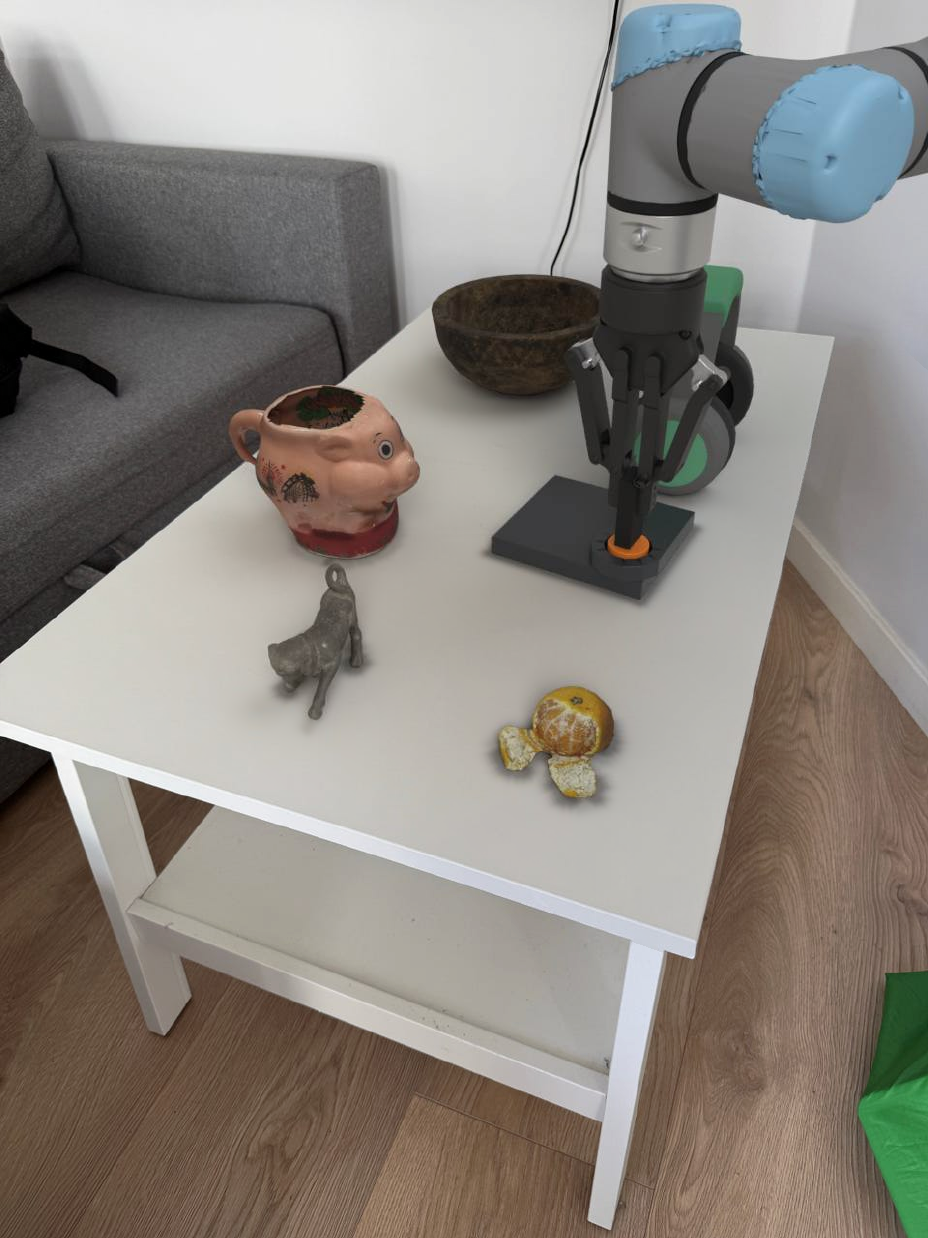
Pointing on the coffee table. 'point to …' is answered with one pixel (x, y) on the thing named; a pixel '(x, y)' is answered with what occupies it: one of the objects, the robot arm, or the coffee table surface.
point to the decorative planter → (331, 467)
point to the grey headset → (727, 403)
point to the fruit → (563, 738)
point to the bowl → (515, 329)
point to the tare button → (634, 553)
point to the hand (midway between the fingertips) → (628, 539)
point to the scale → (589, 537)
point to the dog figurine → (321, 641)
